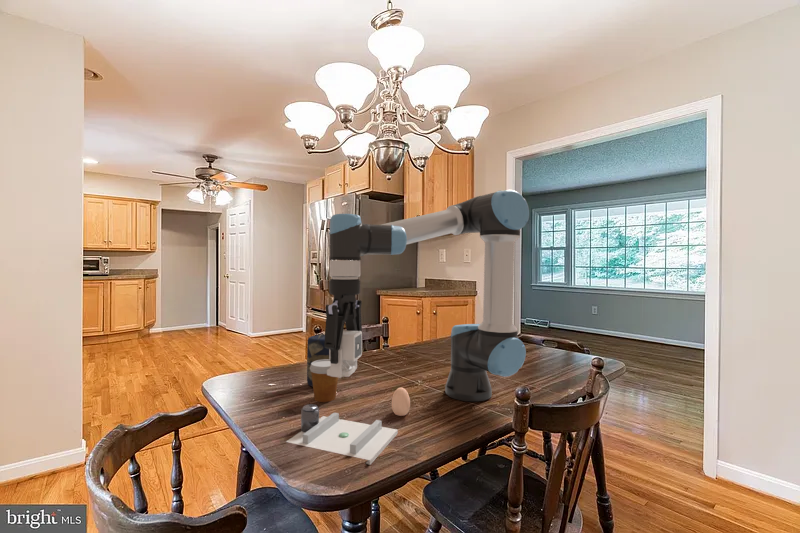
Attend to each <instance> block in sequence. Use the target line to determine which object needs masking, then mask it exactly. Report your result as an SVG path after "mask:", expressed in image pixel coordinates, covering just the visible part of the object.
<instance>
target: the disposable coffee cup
mask: <svg viewBox="0 0 800 533" xmlns="http://www.w3.org/2000/svg"><path fill="white" fill-rule="evenodd" d="M329 368H330V359H324V360H317V361H314V362H312V363H311V366H310V371H311V374H312V382H313V386H312V390H313V398H314V401H315V402H319V403H327V402H332V401H336V399H337V398H336V397H337V391H338V382H339V377H332V376H329V375H327V370H328V369H329Z"/></svg>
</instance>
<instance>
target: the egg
mask: <svg viewBox="0 0 800 533" xmlns="http://www.w3.org/2000/svg"><path fill="white" fill-rule="evenodd" d="M410 408H411V398H410V396H409V393H408V390H406V388H404V387H398V388H397V389H395V391H394V392H393V395H392V397H391V409H392V412H393V414H394V415H396V416H400V417H402V416H403V417H404V416H406V415H407V414H408V413H409V411H410Z"/></svg>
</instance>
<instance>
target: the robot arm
mask: <svg viewBox="0 0 800 533" xmlns="http://www.w3.org/2000/svg"><path fill="white" fill-rule="evenodd" d="M529 218H530V208H529V205H528V202H527V200H526V198H524V197H523V195H522V194H521V193H520V192H518V191H516V190H513V189H506V190H504V189H503V190H497V191H495V192H490V193H487V194H483V195H479V196H475V197H472V198H470V199H468V200H465V201H462V202H459V203H456V204H452V205H449V206H448V207H447V208H446V209H445V210H444V209H443V210H439V211H435V212H431V213H426V214H423V215H419V216H413V217H409V218H404V219H399V220H395V221H391V222H387V223H382V224H369V223H362V218H361V216H360V215H359V214H354V213H336V214H333V215H332V216H330V221H329V232H328V235H329V236H328V238H329V265H328V267H329V272H328V274H329V277H331V279H329V282H328V293H329V294H330V295H332V296H333V299H332V303H331V304H326V305H325V309H324V310H325V315H326V316H325V329H324V330H325V331H324V335H325V343H324V347H325V348H326V349H330V376H332V377H338V379H339V378H343V376H342V363H343V362H342V349H340V346H341V340H342V335H343V330H345V329H344V327H345V328H346V330H348V331H362V332H363V329H362V324H363V323H362V304H363V303H362V300H360V299H357V298H356V296H357V295H359V294H360V293H361V280H360V278H359V277H361V260H362V259H361V256H362V257H363V256H375V255H390V256H393V255H401V254H402V253H404V251H405V250H406V248H407V245H410V244H414V243H418V242H421V241H425V240H430V239H434V238H438V237H442V236H447V235H450V234H452V235H453V236H458V235H463V234H472V233H475V234H476V233H479V237H480V239H481V240H482V241H483V242H484V262H483V263H484V265H483V267H484V268H483V270H484V271H483V305H482V306H483V308H482V309H483V310H482V311H483V313H482V318H483V319H482V322H481V323H465V324H455V325H453V326H452V327H451V332H450V370H449V374H448V376H447V380H446V383H445V386H444V388H445V389H444V390H445V395H447V396H448V397H450V398H451V399H454V400H458V401H461V402H462V401H463V402H482V401H487V400H490V399H491V397H493V396H492V392H493V390H492V385H491V382H490V379H489V376H488V372H489V373H490V374H492V375H495V376H500V377H505V378H507V377H510V376H513V375H515V374H517V373H518V371H520V370H519V369H521V368H522V367H523V365H524V362H525V360H526V355H527V351H526V350H527V349H526V346H525V344H524V342H523V341H522V340H521V339H520V338H518V335H519V334H518V333H519V332H518V330H519V329H518V328H517V327H516V325H515V324H514V322H513V321H514V320H513V318H514V315H513V314H514V313H513V312H514V284H515V283H514V282H515V280H514V275H515V274H514V273H515V243H516V241H518V239H520V238H521V229H523V228H524V227H526V224H528V221H529ZM346 361H347V362H348V363H349V365H355V370H357V369H358V359H357V360H356V361H351V360H346Z"/></svg>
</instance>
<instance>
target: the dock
mask: <svg viewBox="0 0 800 533" xmlns="http://www.w3.org/2000/svg"><path fill="white" fill-rule="evenodd" d="M339 413H340V412H332V413H331V414H330V415H328V416H324V415H323V416H321V417H319V423H318V424H317V425H315V426H314V427H313V428H311V429H310V430H308V431H307V432H306V433H305V432H302V431H301V430H300V431H299V432H298V433H296V434H295V435H294V436H292V437H291V438H289V439H288V440H286V441H285V442H286V443H288V444H293V445H298V446H303V447H306V448H312V449H316V450H320V451H321V450H322V451H324V452H329V453H335V454H339V455H342V456H343V455H344V456H348V457H353V458H357V459H362V460H366V462H365V463H364V464H365V465H369V466H370V465H372V463H373V462H374V461H375V460H376V459H377V457H379V455H381V453H382V452H383V451H384V450H385V449H386V447H388V445H389V444H390V443H391V441H393V439H395V437H396V436H397V435H398V433H399V432H398V430H399V429H397V428H390V427H387V426H386V427H385V426H383V424H382V420H380V419H375V421H373V422H372V423H371V424H368V423H364V422H359V421H351V420H346V419H343V418H342V419H341V418H340V417H339V416H340V414H339Z"/></svg>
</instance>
